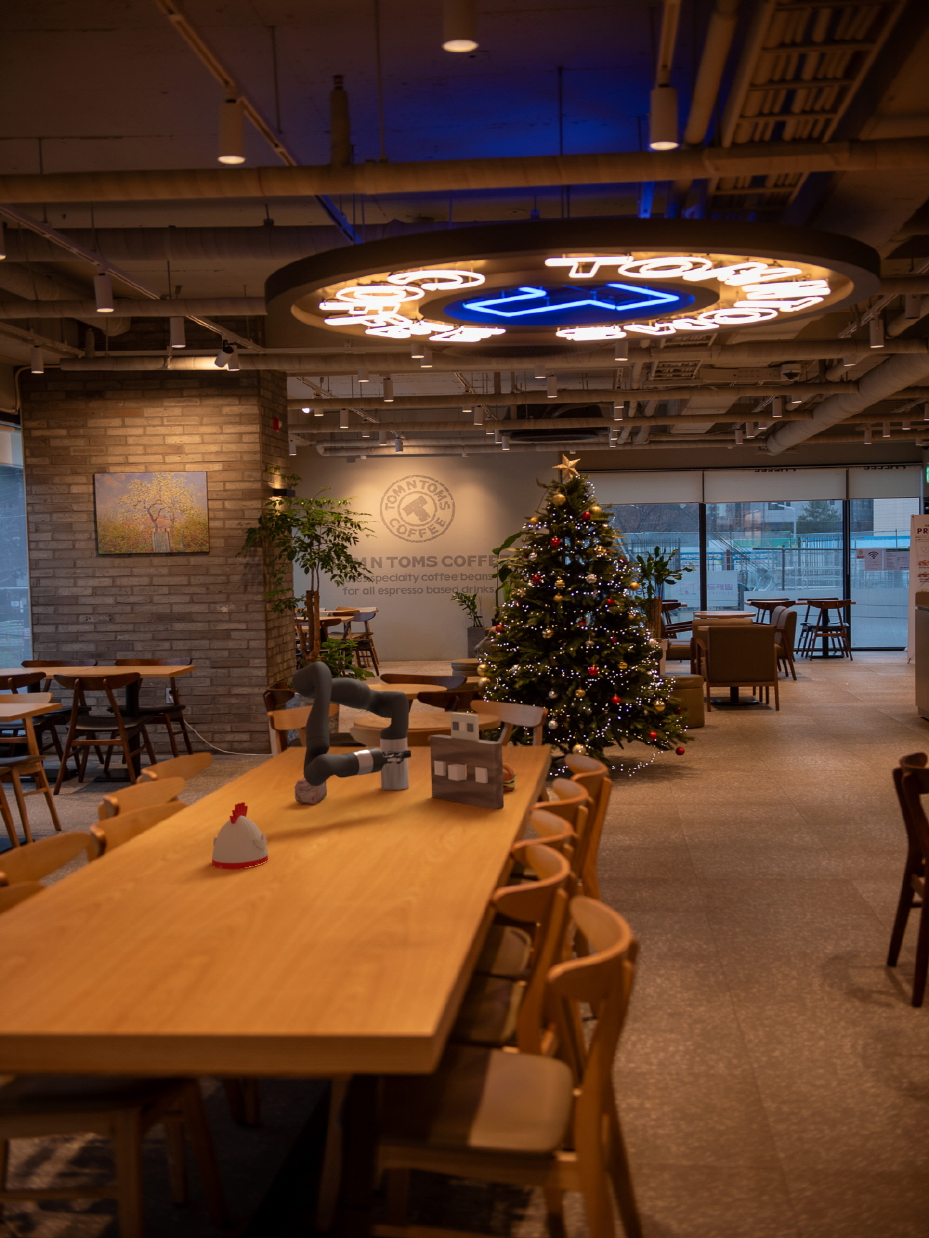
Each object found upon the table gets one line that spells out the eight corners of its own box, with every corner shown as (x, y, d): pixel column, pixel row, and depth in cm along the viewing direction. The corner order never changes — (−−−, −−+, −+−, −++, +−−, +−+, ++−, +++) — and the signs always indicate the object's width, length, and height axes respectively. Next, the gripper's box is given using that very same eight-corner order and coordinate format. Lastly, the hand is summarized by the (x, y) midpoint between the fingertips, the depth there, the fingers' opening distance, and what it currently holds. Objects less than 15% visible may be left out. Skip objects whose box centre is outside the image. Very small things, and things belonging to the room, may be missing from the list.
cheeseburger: (517, 785, 365) (516, 758, 362) (516, 799, 355) (515, 771, 352) (487, 785, 366) (486, 758, 363) (485, 798, 356) (484, 771, 353)
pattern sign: (475, 741, 334) (474, 715, 334) (450, 737, 343) (449, 712, 343) (479, 740, 335) (478, 715, 335) (454, 737, 344) (453, 712, 344)
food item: (317, 805, 341) (316, 775, 341) (293, 806, 342) (292, 775, 342) (329, 797, 355) (328, 767, 354) (305, 797, 356) (304, 768, 356)
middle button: (457, 780, 335) (457, 766, 334) (448, 778, 338) (448, 765, 338) (465, 779, 337) (465, 765, 337) (456, 777, 340) (456, 763, 340)
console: (494, 809, 327) (492, 744, 327) (432, 796, 350) (430, 735, 350) (503, 807, 330) (501, 742, 330) (441, 794, 353) (439, 734, 352)
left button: (443, 775, 344) (442, 762, 344) (434, 774, 347) (434, 760, 347) (451, 774, 346) (451, 760, 346) (442, 772, 349) (442, 759, 349)
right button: (485, 783, 329) (484, 768, 329) (475, 781, 332) (475, 767, 332) (493, 781, 331) (493, 767, 331) (484, 779, 334) (483, 765, 334)
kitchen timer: (277, 856, 277) (275, 798, 276) (252, 870, 264) (250, 810, 263) (228, 854, 281) (226, 797, 280) (202, 868, 267) (199, 808, 267)
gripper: (377, 751, 321) (422, 743, 332) (351, 747, 331) (396, 739, 342) (378, 776, 321) (423, 767, 333) (352, 771, 331) (397, 762, 343)
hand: (409, 753), depth 338 cm, fingers closed
